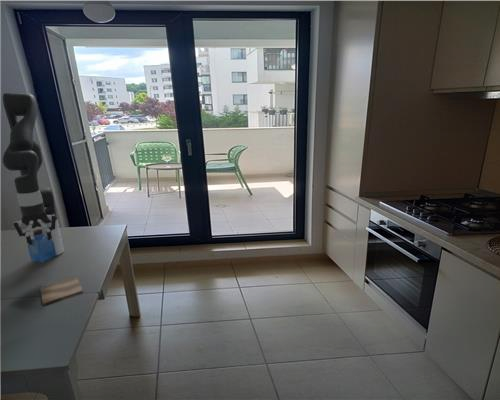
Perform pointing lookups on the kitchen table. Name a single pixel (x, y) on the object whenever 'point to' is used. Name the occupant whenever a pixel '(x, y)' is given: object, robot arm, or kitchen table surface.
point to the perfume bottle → (41, 247)
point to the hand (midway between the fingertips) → (40, 241)
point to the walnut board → (60, 290)
